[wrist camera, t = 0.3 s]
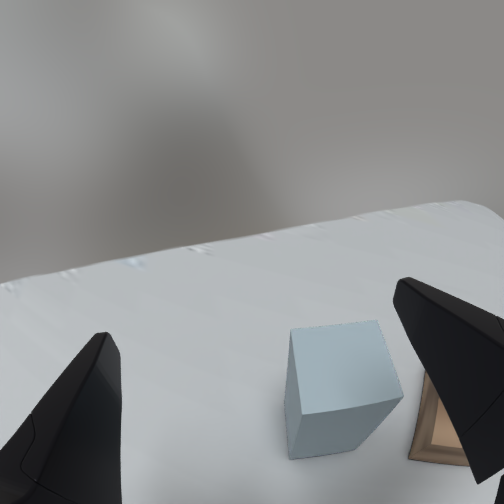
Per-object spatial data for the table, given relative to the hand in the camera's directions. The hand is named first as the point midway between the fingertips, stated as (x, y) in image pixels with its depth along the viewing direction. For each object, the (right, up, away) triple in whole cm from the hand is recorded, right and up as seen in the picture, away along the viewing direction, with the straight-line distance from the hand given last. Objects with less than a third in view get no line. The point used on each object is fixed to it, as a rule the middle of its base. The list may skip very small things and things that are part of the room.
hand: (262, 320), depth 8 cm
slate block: (+5, -11, +11) cm, 17 cm away
